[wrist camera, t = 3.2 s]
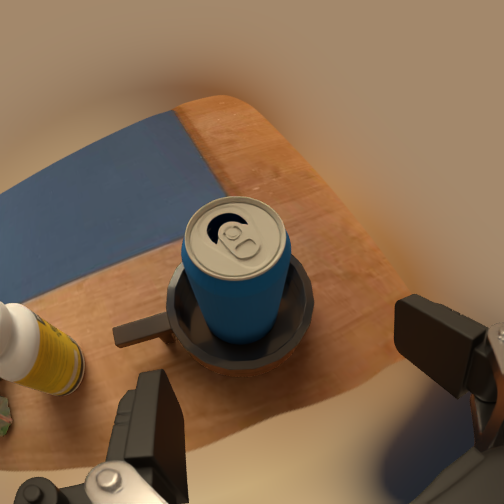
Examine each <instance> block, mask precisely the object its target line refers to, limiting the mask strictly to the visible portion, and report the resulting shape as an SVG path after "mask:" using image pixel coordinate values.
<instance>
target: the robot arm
mask: <svg viewBox="0 0 504 504" xmlns="http://www.w3.org/2000/svg"><path fill="white" fill-rule="evenodd" d="M394 343H395V346H396V348H397V350H398V352H399V353H400V354H401V355H403V356H404V357H405V358H406V359H408V360H409V361H410V362H411V363H413V364H414V365H415V366H417V367H418V368H419V369H420V370H421V371H423V372H424V373H425V374H426V375H428V376H429V377H430V378H431V379H433V380H434V381H435V382H436V383H438V384H439V385H440V386H442V387H443V388H444V389H445V390H447V391H448V392H449V393H450V394H452V395H453V396H454V397H455V398H457V399H459V398H460V397H462V396H463V395H464V394H466V393H467V392H468V391H470V392H471V393H472V394H471V397H470V406H471V413H472V420H473V428H474V438H475V444H474V447H472V448H471V449H470V450H468V451H467V452H466V453H465V454H463V455H462V456H461V457H460V458H458V459H457V460H456V461H455V462H453V463H452V464H451V465H449V466H448V467H447V468H445V469H444V470H443V471H442V472H441V473H440V474H439V475H438V476H437V477H436V478H435V479H434V481H433V482H432V483H431V484H430V485H429V486H428V487H427V488H426V489H425V490H424V491H423V492H422V493H421V494H420V495H419V496H418V497H417V498H416V499H415V500H413V501H412V502H411V503H409V504H504V322H503V323H497V324H494V325H492V326H491V327H490V328H488V327H486V326H484V325H482V324H480V323H478V322H476V321H474V320H472V319H470V318H468V317H466V316H464V315H460V313H458V312H456V311H454V310H453V311H452V309H450V308H448V307H446V306H444V305H442V304H438V303H434V302H432V301H429V300H428V299H426V298H423V297H421V296H419V295H417V294H412V295H410V296H408V297H405V298H403V299H400V300H398V301H397V302H396V304H395V320H394ZM1 379H2V378H1V377H0V380H1ZM114 424H115V425H113V429H112V434H111V438H110V442H109V447H108V452H107V456H106V461H105V462H103V463H100V464H98V465H97V466H95V467H94V468H93V469H92V470H91V471H90V472H89V473H88V475H87V476H86V479H85V483H82V484H79V485H74V486H69V487H65V488H60V489H58V488H57V487H56V486H55V485H54V484H53V483H52V482H51V481H50V480H48V479H46V478H43V477H34V478H31V479H28V480H26V481H25V482H24V483H23V484H22V485H21V486H20V487H19V489H18V491H17V493H16V497H15V500H14V504H185V503H189V498H188V485H187V472H186V455H185V433H184V418H183V414H182V410H181V407H180V404H179V402H178V400H177V398H176V396H175V393H174V391H173V389H172V386H171V384H170V382H169V379H168V377H167V375H166V373H165V371H164V370H163V369H159V370H153V371H148V372H142V373H140V374H139V377H138V381H137V386H136V389H134V390H128V391H127V392H126V394H125V395H124V396H123V398H122V399H121V400H120V402H119V405H118V409H117V415H116V417H115V421H114Z"/></svg>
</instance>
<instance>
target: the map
mask: <svg viewBox="0 0 504 504" xmlns="http://www.w3.org/2000/svg"><path fill="white" fill-rule="evenodd" d="M10 417H11V414H10V408H9V407H8V399H7V398H5V397H2V396H0V436H3V437H4V435H6V432H7V430H8V426H9V425H11V424H12V423H11V422H13V419H11V418H10Z"/></svg>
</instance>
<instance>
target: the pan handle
mask: <svg viewBox="0 0 504 504" xmlns="http://www.w3.org/2000/svg"><path fill="white" fill-rule="evenodd" d="M112 329H113V335H114V340H115V345H116V346H117V347H119V348H123V347H127V346H130V345H134V344H137V343H141V342H144V341H147V340H151V339H154V338H158V337H159V338H160V339H161V340H162V341H163V342H164V343H165V344H168V343H172V342H175V341H176V340H175V336H174V332H173V331H172V329H171V325H170V322H169V318H168V315H167V312H163V313H160V314H157V315H154V316H150V317H147V318H144V319H141V320H137V321H134V322H131V323H127V324H124V325H121V326H117V327H114V328H112Z"/></svg>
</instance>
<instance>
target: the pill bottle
mask: <svg viewBox="0 0 504 504" xmlns="http://www.w3.org/2000/svg"><path fill="white" fill-rule="evenodd" d="M84 370H85V362H84V356H83V353H82V351H81V348H80V347H79V345H78V344H77V343H76V341H75V340H73V339H72V338H71V337H70V336H68V335H66V334H65V333H63V332H62V331H60V330H58V329H57V328H55V327H54V326H52V325H51V324H49V323H48V322H46V321H45V320H43V319H42V318H40V317H39V316H38V315H36V314H35V313H34V312H32V311H31V310H29V309H28V308H26V307H25V306H23V305H21V304H17V303H10V304H6V305H4V304H3V303H2V302H0V377H1V378H2V379H4V380H7V381H10V382H13V383H16V384H19V385H22V386H25V387H28V388H31V389H34V390H38V391H41V392H45V393H48V394H51V395H55V396H66V395H68V394H71V393H72V392H74V391H75V390H76V389H77V388H78V386H79V385H80V383H81V381H82V379H83V375H84Z"/></svg>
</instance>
